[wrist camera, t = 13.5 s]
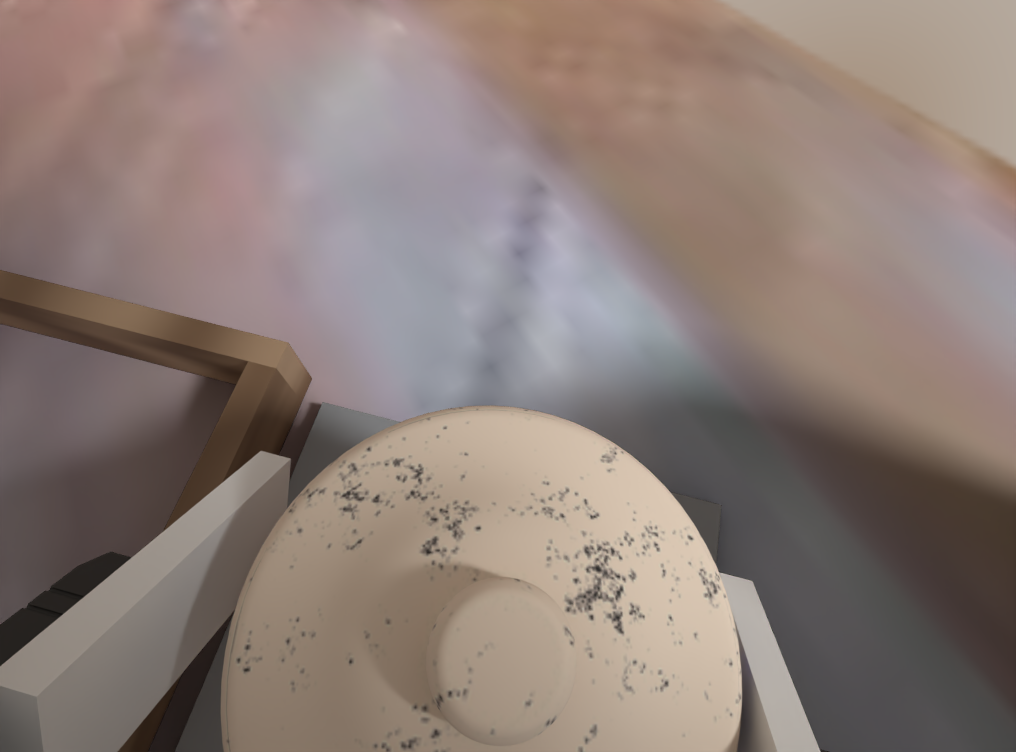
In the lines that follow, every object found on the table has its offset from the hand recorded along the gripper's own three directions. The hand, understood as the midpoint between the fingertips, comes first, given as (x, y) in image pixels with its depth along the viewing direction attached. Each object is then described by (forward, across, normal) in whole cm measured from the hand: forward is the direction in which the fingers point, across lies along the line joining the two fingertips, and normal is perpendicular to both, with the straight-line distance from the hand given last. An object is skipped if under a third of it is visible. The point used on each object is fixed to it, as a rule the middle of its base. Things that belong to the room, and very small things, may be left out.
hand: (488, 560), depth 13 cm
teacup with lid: (+2, 0, -6) cm, 6 cm away
